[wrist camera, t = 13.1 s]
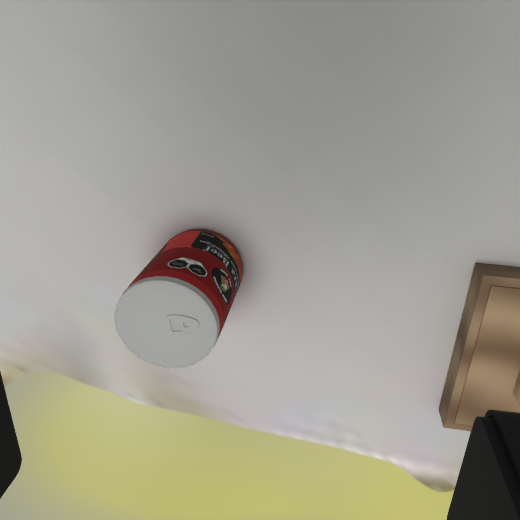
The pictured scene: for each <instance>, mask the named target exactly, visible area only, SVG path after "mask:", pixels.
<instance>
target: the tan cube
mask: <svg viewBox="0 0 520 520" xmlns="http://www.w3.org/2000/svg"><path fill="white" fill-rule="evenodd" d="M512 393H513V395H514V397H515V399H516V401H517V403H518V405H519V407H520V370H519V373H518V376H517V380H516V383H515V386H514V389H513V392H512Z"/></svg>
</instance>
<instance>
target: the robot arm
mask: <svg viewBox="0 0 520 520" xmlns="http://www.w3.org/2000/svg"><path fill="white" fill-rule="evenodd" d="M21 461H22V458H21V452H20V448H19V445H18V441H17V437H16V433H15V429H14V425H13V421H12V417H11V413H10V409H9V405H8V401H7V397H6V393H5V389H4V385H3V381H2V377H1V373H0V498H1V496H2V495H3V494H4V492H5V491H6V490H7V488H8V487H9V486H10V484H11V483H12V481H13V480H14V478H15V477H16V475H17V474H18V472H19V469H20V466H21ZM447 520H520V413H517V412H508V411H500V410H488V411H487V412H486V414H485V416H484V417H480V416H478V417H476V418H475V420H474V423H473V427H472V430H471V434H470V437H469V441H468V444H467V448H466V452H465V455H464V459H463V462H462V466H461V469H460V473H459V476H458V480H457V483H456V487H455V490H454V494H453V498H452V501H451V505H450V508H449V512H448V516H447Z"/></svg>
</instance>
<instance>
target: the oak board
mask: <svg viewBox="0 0 520 520" xmlns="http://www.w3.org/2000/svg"><path fill="white" fill-rule="evenodd" d="M519 370H520V267H512V266H502V265H492V264H482V263H475V267H474V271H473V275H472V279H471V283H470V287H469V291H468V295H467V299H466V303H465V307H464V311H463V315H462V319H461V323H460V327H459V331H458V335H457V339H456V343H455V347H454V351H453V355H452V359H451V363H450V367H449V371H448V375H447V379H446V383H445V387H444V391H443V395H442V399H441V403H440V407H439V412H440V416H441V420H442V423H443V427H444V428H451V429H459V430H466V431H471V430H472V427H473V423H474V420H475V418H476V417H478V416H480V417H484V416H485V414H486V412H487V411H488V410H500V411H508V412H517V413H520V407H519V405H518V403H517V401H516V399H515V397H514V395H513V393H512V392H513V389H514V386H515V383H516V380H517V376H518V373H519Z"/></svg>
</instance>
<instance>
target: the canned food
mask: <svg viewBox="0 0 520 520" xmlns="http://www.w3.org/2000/svg"><path fill="white" fill-rule="evenodd" d="M242 275H243V272H242V264H241V260H240V257H239V255H238V253H237V251H236V249H235V248H234V247H233V245H232V244H231V243H230V242H229V241H227V240H226V239H225V238H223V237H222V236H220V235H218V234H216V233H213V232H210V231H205V230H193V231H188V232H184V233H181V234H179V235H176V236H175V237H173V238H172V239H170V240H169V241H168V242H167V243H166V244H165V246H164V247H163V248H162V249H161V250H160V251H159V252H158V254H157V255H156V256H155V257H154V258H153V259H152V260H151V261H150V263H149V264H148V265H147V266H146V267H145V268H144V269H143V271H142V272H141V273H140V274H139V275H138V276H137V277H136V278H135V280H134V281H133V282H132V283H131V284H130V285H129V287H128V288H127V289H126V290H125V291H124V293H123V295H122V296H121V298H120V300H119V301H118V303H117V306H116V310H115V325H116V329H117V332H118V334H119V337H120V338H121V340H122V341H123V343H124V344H125V345H126V347H127V348H128V349H129V350H130V351H131V352H132V353H134V354H135V355H136V356H138V357H139V358H141V359H142V360H144V361H146V362H148V363H151V364H153V365H156V366H161V367H165V368H182V367H187V366H190V365H194V364H196V363H198V362H199V361H201V360H203V359H204V358H205V357H206V356H207V355H208V354H209V353H210V351H211V350H212V349H213V347H214V346H215V344H216V342H217V339H218V337H219V335H220V333H221V331H222V328H223V326H224V323H225V321H226V318H227V316H228V313H229V311H230V308H231V306H232V303H233V301H234V298H235V296H236V293H237V291H238V288H239V286H240V283H241V280H242Z"/></svg>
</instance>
